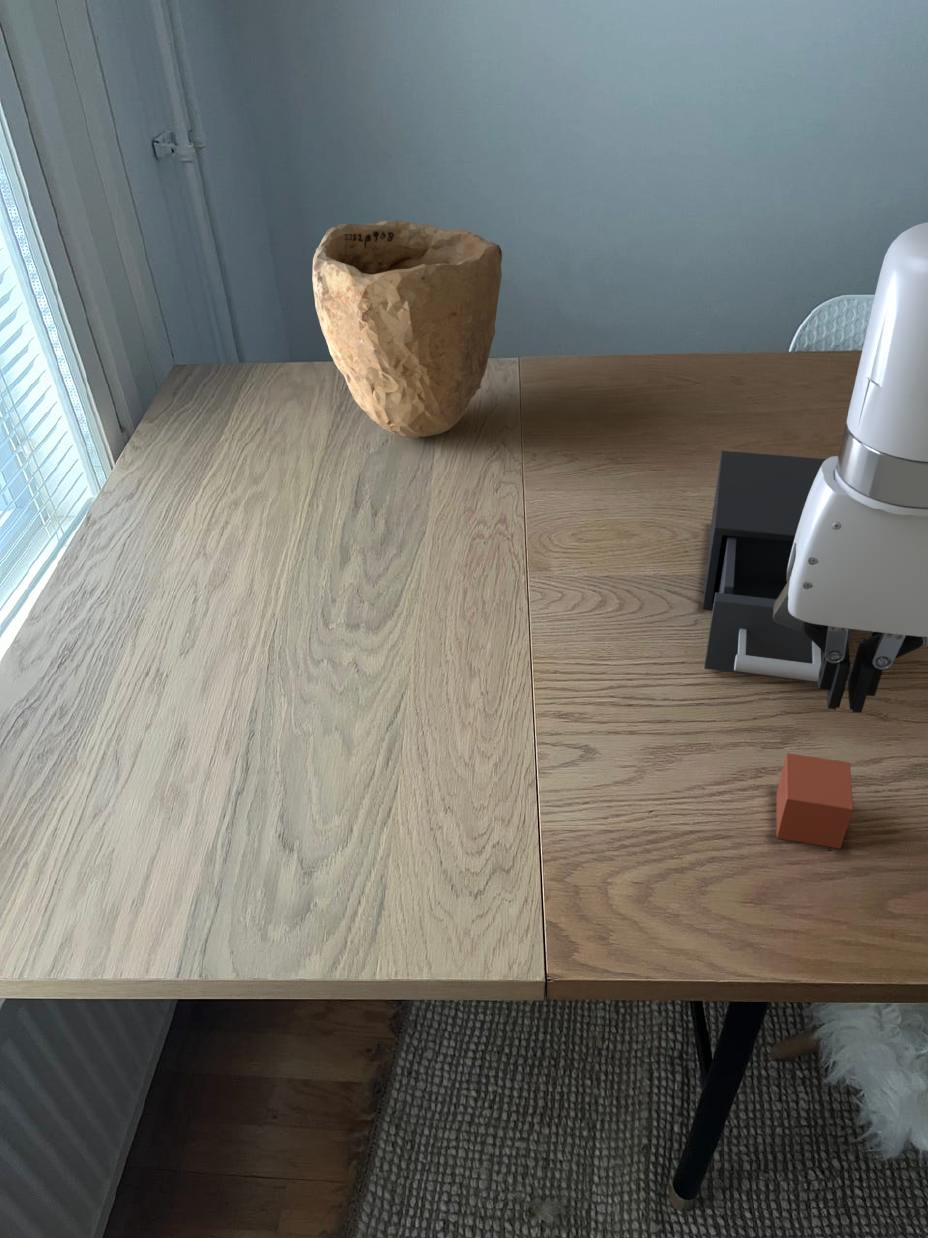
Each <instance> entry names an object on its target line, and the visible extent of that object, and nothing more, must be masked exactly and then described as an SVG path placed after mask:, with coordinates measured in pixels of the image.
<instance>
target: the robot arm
mask: <svg viewBox="0 0 928 1238" xmlns="http://www.w3.org/2000/svg"><path fill="white" fill-rule="evenodd" d="M873 298H874V299H873V302H872V308H871V311H870V316H869V320H868V324H867V328H866V333H865V337H864V342H863V346H862V351H861V355H860V360H859V363H858V367H857V373H856V377H855V382H854V385H853V391H852V394H851V399H850V402H849V406H848V413H847V418H846V421H845V424H844V425H845V426H844V430H843V434H842V438H841V442H840V446H839V452H838V455H833V456H830V457H828V458H825V459H826V460H825V461H824V462H823V464H822V465H821V467H820V469H819V471H818V473H817V475H816V477H815V480H814V482H813V484H812V487H811V489H810V492H809V494H808V497H807V500H806V503H805V506H804V508H803V512H802V515H801V518H800V521H799V524H798V528H797V532H796V535H795V539H794V542H793V546H792V550H791V554H790V558H789V563H788V568H787V577H786V579H787V584H786V585H785V587H784V589H783V590H782V592H781V593H780V595H779V597H778V598H777V600H776V601H775V603H774V605H773V620H774V621H775V622H777V623H779V624H782V625H784V626H787V627H790V628H793V629H796V630H798V631H799V630H802V631H805V633H806V635H807V636H808V637H809V638H810V639H811V640H812V641H813V642H814V643H815V644H816V645H817V646H818V647H819V648H820V649H821V650H822V651H823V652H824V655H823V659H822V663H821V666H820V670H819V676H818V684H817V689H818V690H823V691H826V708H827V709H830V710H837V709H840V706H841V703H842V701H843V697H844V693H845V689H846V686H847V694H848V707H849V710H851V711H852V712H853V713H858V714H862V711H863V709H864V705H865V702H866V699H867V697H868V696H869V697H875V696H876V693H877V691H878V688H879V684H880V682H881V677H882V674H883V671H884V670H887V669H890V668H891V667H892V665H893V664H894V662H895V660H897V659H898V658H900V657H903V656H904V655H907V654H909V653H911V652H913V651H915V650H917V649H919V648H921V647H922V646H926V647H928V221H927V222H922V223H919V224H917V225H913V226H912V227H910V228H908V229H906V230H905V231H903V232H901V233H900V234H899V235H898V236H897V237H896V238H895V239H894V240H893V241H892V242H891V244H890V246H889V247H888V249H887V251H886V253H885V255H884V258H883V262H882V265H881V269H880V272H879V276H878V280H877V284H876V289H875V293H874V297H873ZM848 629H854V630H857V631H865V632H866V631H867V632H870V633H869V637H868V638H862V639H861V642H858V643H857V647H856V650H855V655H854V657H853V661H852V665H851V657H850V644H848V638H847V635H848Z"/></svg>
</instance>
